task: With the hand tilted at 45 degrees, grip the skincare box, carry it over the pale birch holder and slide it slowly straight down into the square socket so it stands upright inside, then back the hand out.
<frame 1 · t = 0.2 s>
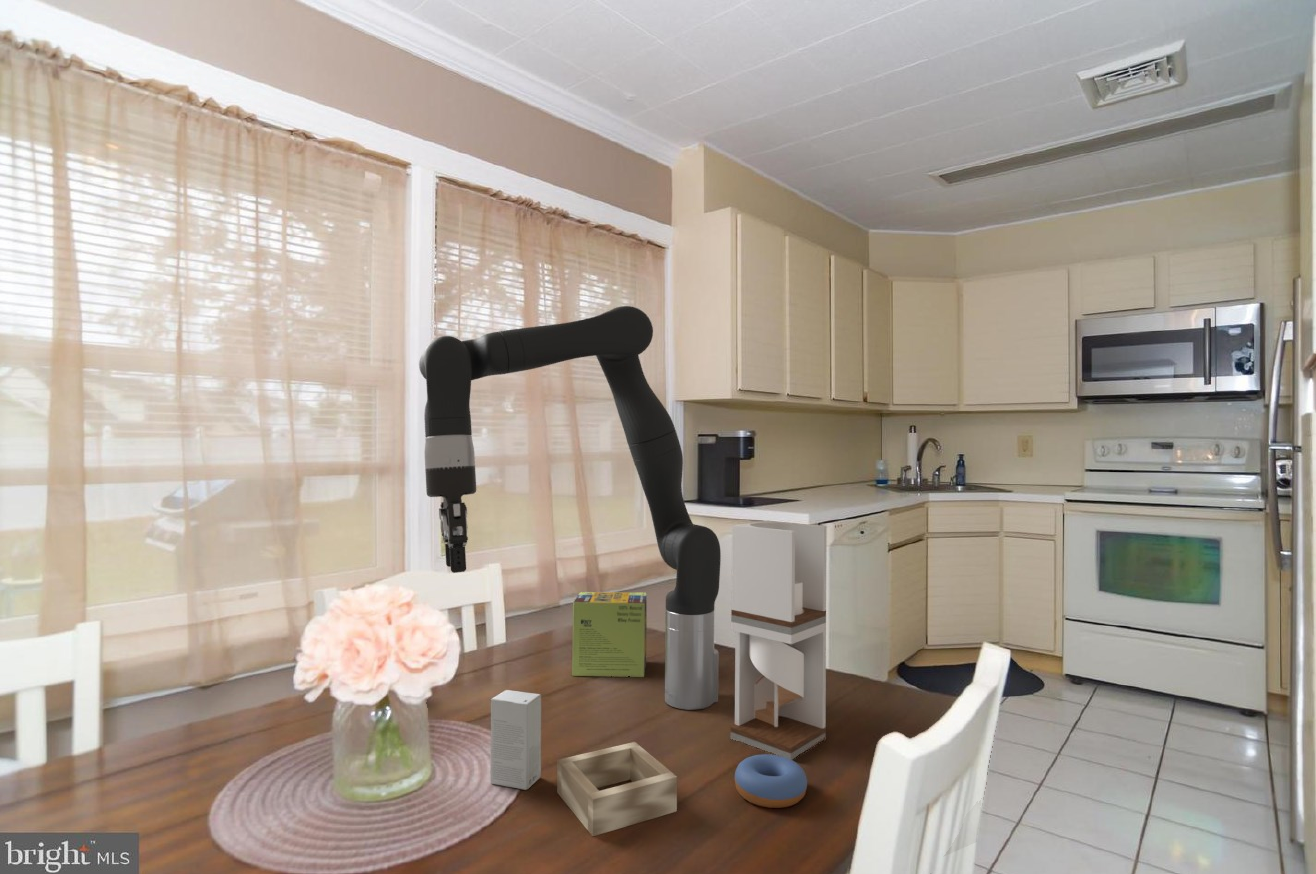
hand: (455, 568, 106), 28 cm above the table, tool pointing down, fingers open, 8 cm apart
white shelf tower: (777, 740, 111), on the table
doughnut: (770, 795, 94), on the table
supplement box: (384, 700, 127), on the table
skincare box: (515, 782, 97), on the table
protein box: (610, 669, 146), on the table
birch holder: (615, 801, 91), on the table
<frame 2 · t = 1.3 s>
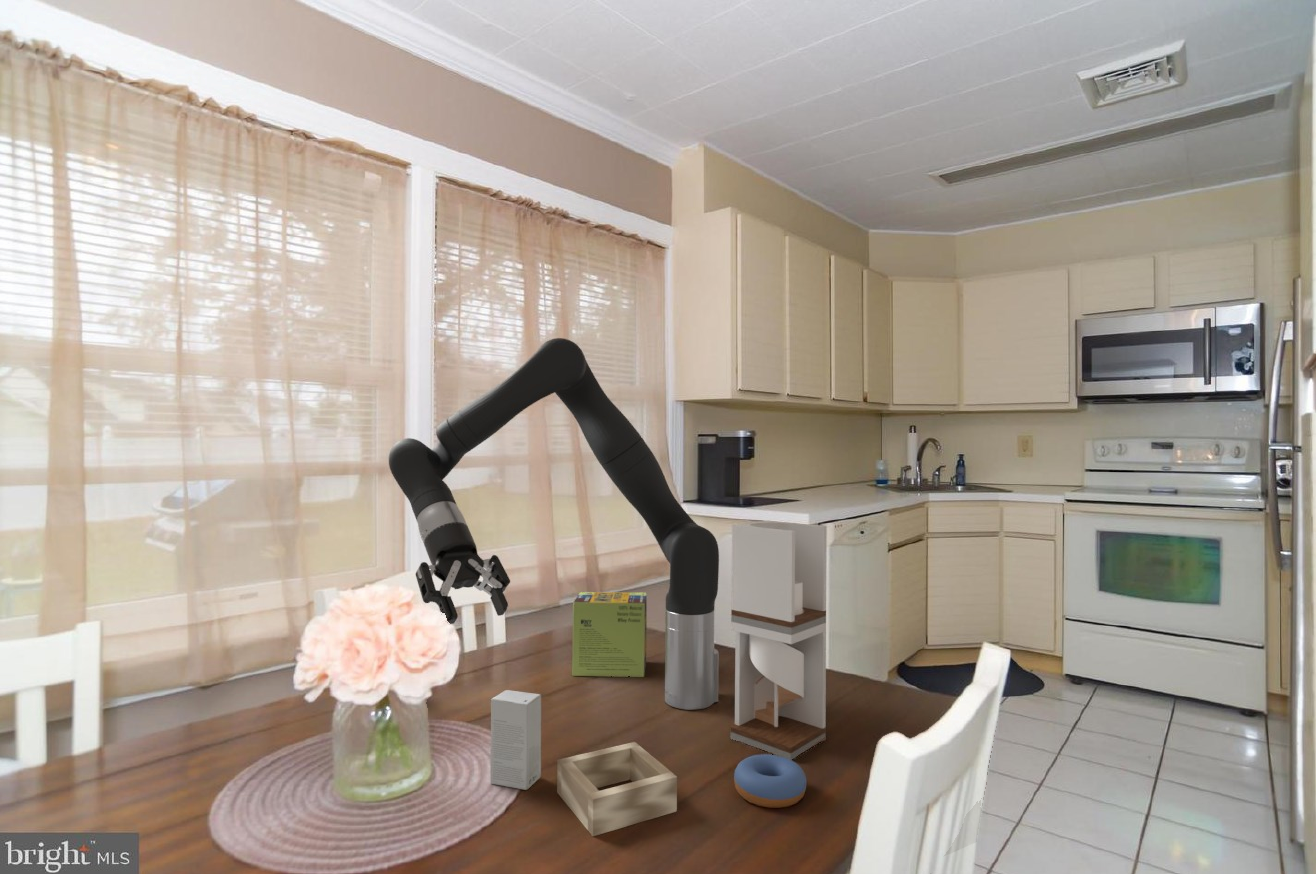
hand: (479, 616, 105), 21 cm above the table, tool tilted 45°, fingers open, 8 cm apart
nothing on the table moved.
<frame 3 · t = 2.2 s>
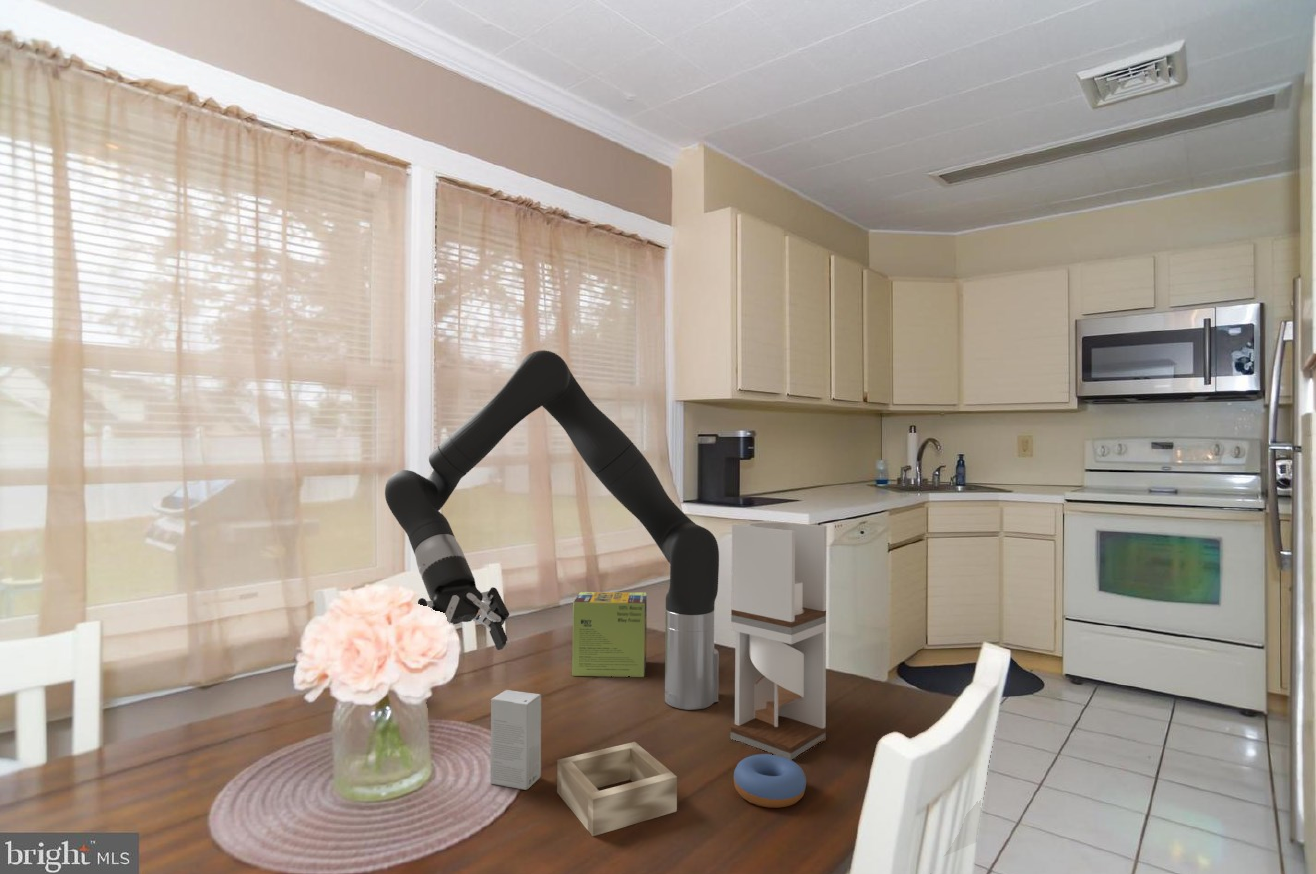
hand: (478, 652, 105), 16 cm above the table, tool tilted 45°, fingers open, 8 cm apart
nothing on the table moved.
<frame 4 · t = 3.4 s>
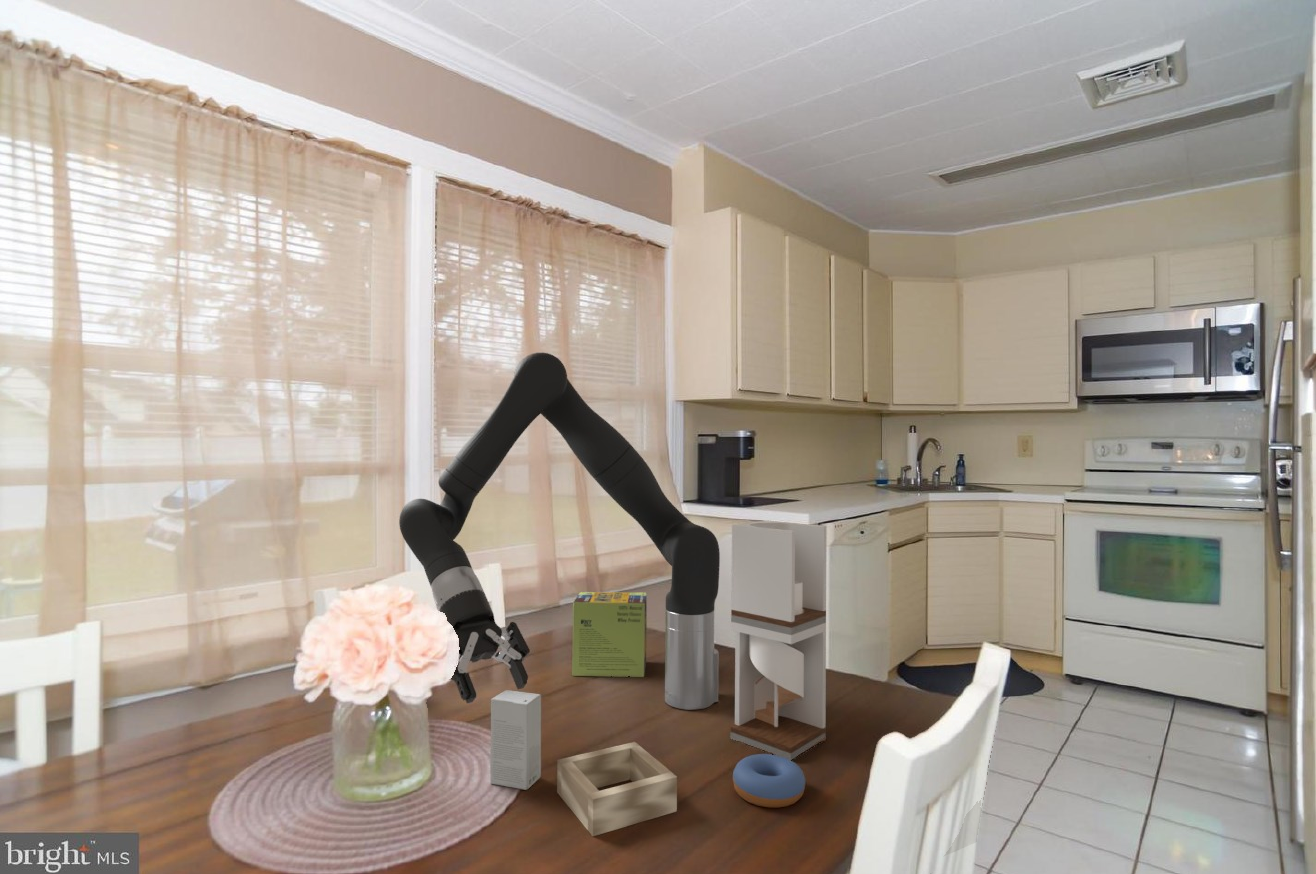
hand: (498, 693, 100), 11 cm above the table, tool tilted 45°, fingers open, 8 cm apart
nothing on the table moved.
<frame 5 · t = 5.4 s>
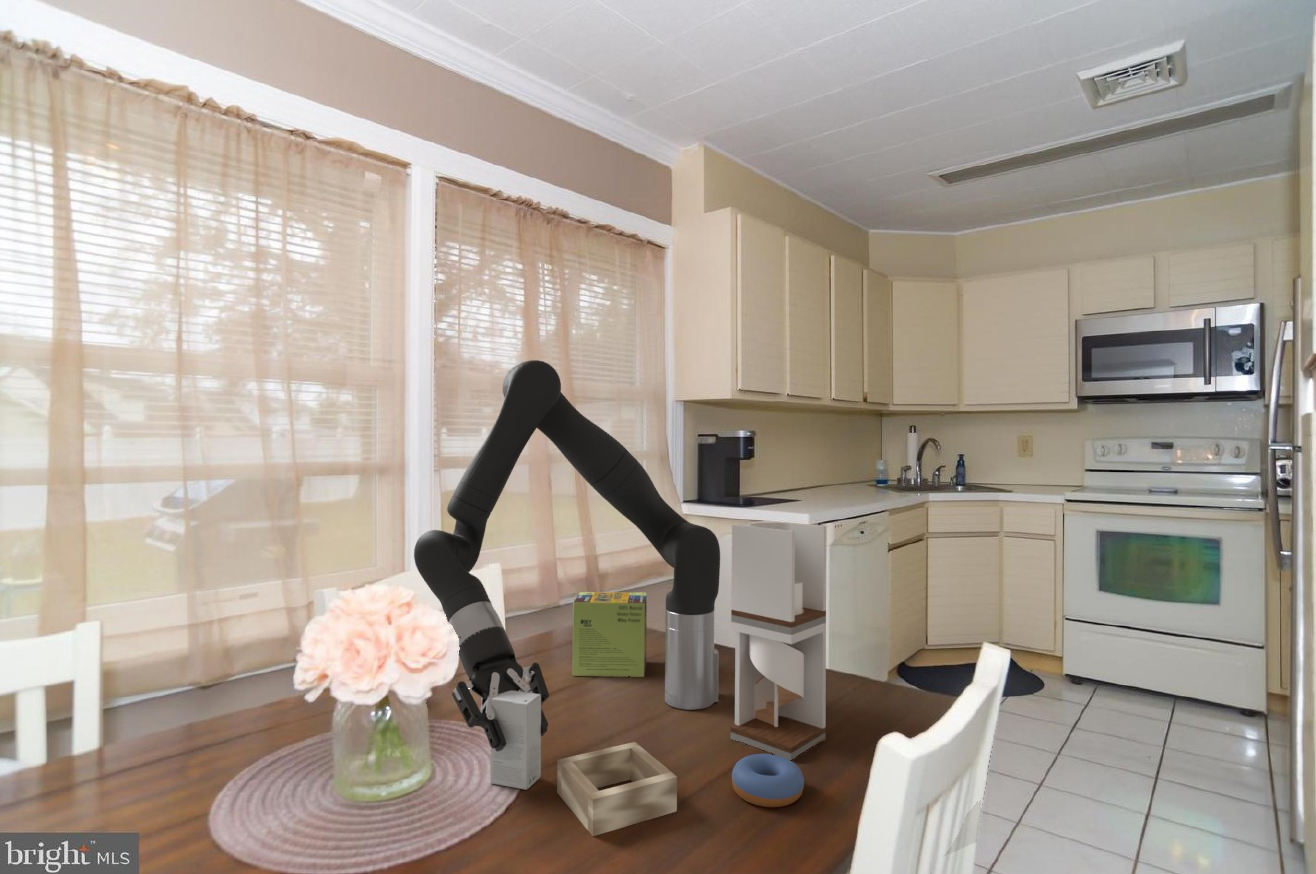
hand: (522, 740, 96), 6 cm above the table, tool tilted 45°, fingers closed on skincare box, 6 cm apart
skincare box: (515, 782, 97), on the table, touching gripper
everything else where it was.
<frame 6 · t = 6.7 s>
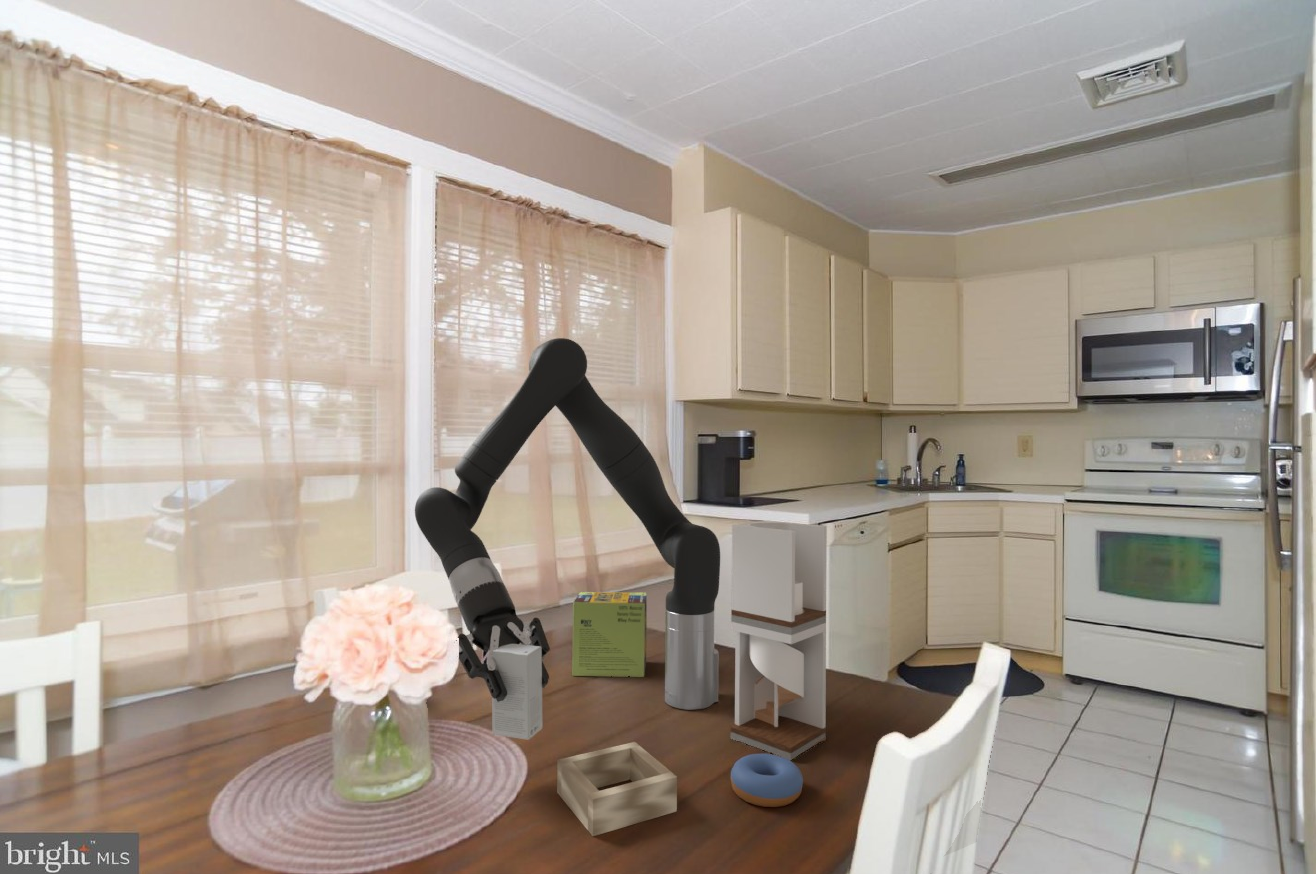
hand: (524, 691, 96), 13 cm above the table, tool tilted 45°, fingers closed on skincare box, 6 cm apart
skincare box: (517, 733, 97), point 7 cm above the table, touching gripper
everything else where it was.
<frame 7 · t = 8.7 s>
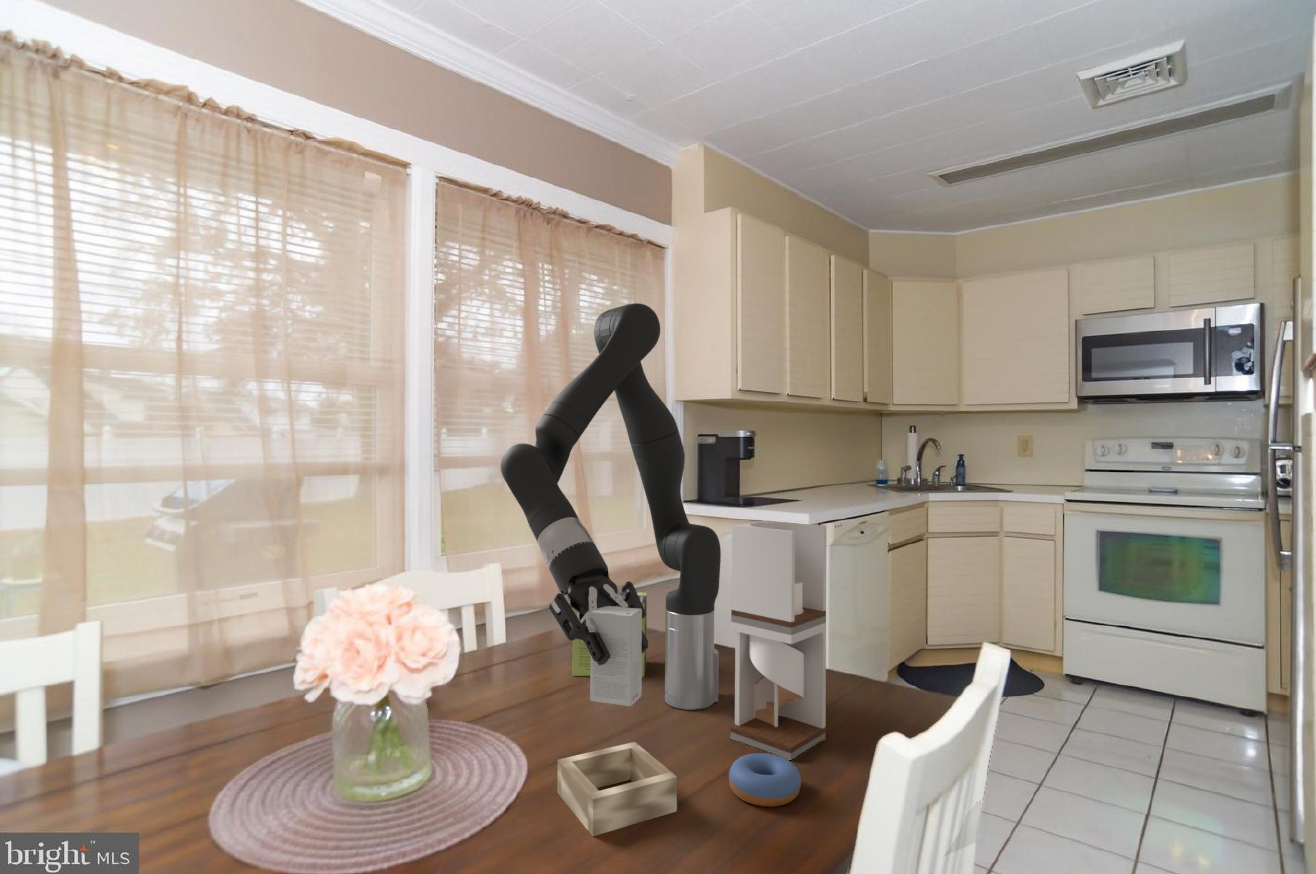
hand: (624, 655, 90), 20 cm above the table, tool tilted 45°, fingers closed on skincare box, 6 cm apart
skincare box: (615, 700, 91), point 14 cm above the table, touching gripper
everything else where it was.
when the fingers open (7 cm above the table, at t = 12.0 s): skincare box drops 1 cm, resting in birch holder.
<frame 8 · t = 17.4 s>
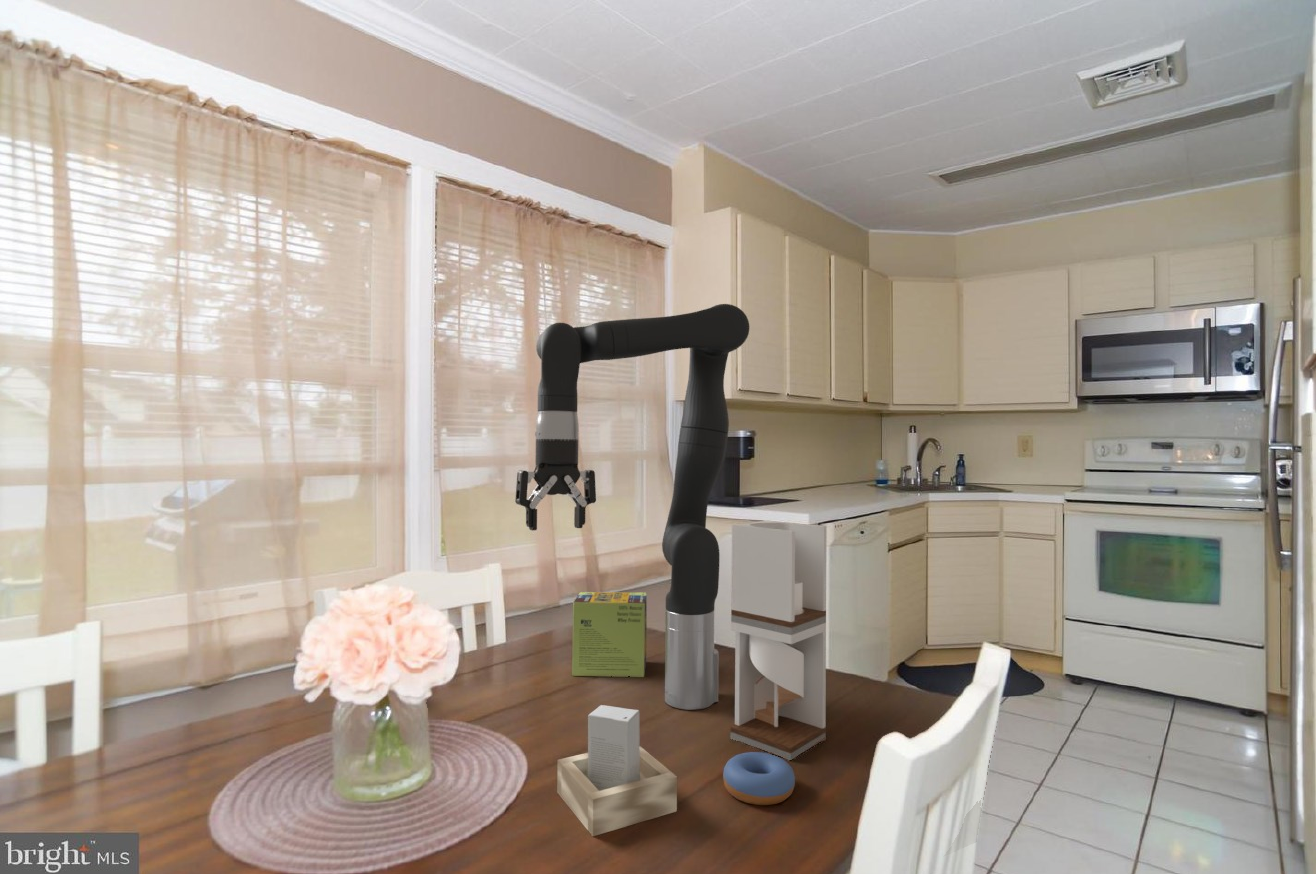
hand: (556, 528, 120), 33 cm above the table, tool pointing down, fingers open, 8 cm apart
skincare box: (613, 803, 91), resting in birch holder
at the end: skincare box 0.2 cm off-centre on the birch holder, point 0.0 cm above the birch holder's base; skincare box tilted 0°; the gripper is holding nothing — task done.
